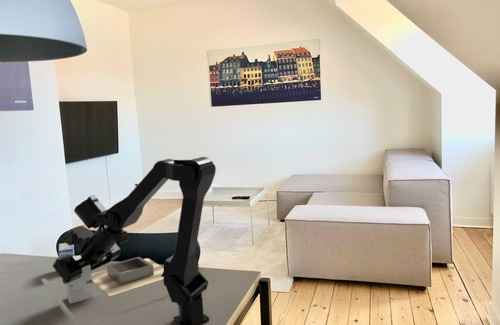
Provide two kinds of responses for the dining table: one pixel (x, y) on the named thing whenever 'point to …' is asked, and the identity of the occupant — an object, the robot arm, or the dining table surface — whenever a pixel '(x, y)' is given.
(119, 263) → the sleeve
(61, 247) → the medicine box
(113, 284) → the board
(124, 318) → the dining table surface
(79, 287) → the skincare box
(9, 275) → the dining table surface
